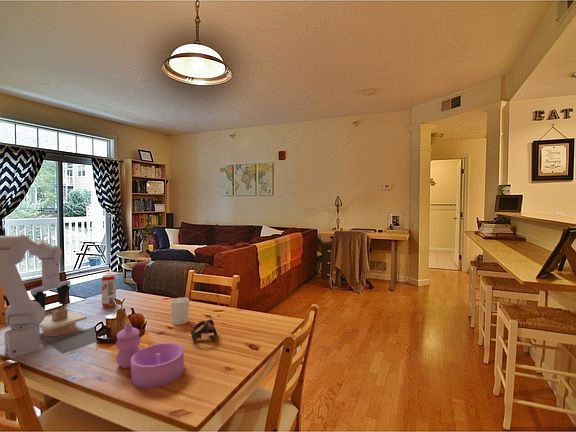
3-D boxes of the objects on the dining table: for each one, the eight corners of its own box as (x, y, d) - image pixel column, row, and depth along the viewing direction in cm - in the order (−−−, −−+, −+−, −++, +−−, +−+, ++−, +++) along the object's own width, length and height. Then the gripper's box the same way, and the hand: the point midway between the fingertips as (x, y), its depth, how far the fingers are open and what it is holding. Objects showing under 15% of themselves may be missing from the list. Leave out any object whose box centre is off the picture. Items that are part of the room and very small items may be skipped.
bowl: (48, 339, 120) (48, 328, 120) (39, 332, 126) (38, 322, 126) (80, 330, 129) (79, 319, 129) (69, 324, 135) (69, 314, 135)
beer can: (105, 309, 154) (104, 277, 154) (100, 306, 158) (99, 276, 157) (118, 305, 159) (117, 275, 159) (112, 303, 163) (112, 273, 162)
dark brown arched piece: (216, 346, 115) (205, 329, 113) (196, 355, 117) (184, 339, 115) (224, 325, 127) (213, 310, 125) (205, 334, 128) (194, 319, 126)
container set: (194, 367, 100) (193, 328, 99) (156, 394, 86) (154, 348, 85) (141, 351, 110) (140, 316, 110) (99, 373, 97) (98, 332, 96)
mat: (62, 354, 108) (62, 353, 108) (46, 342, 117) (46, 341, 117) (115, 336, 123) (115, 335, 123) (97, 327, 132) (97, 326, 132)
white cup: (185, 325, 133) (185, 303, 133) (168, 325, 134) (167, 303, 133) (191, 318, 141) (191, 297, 141) (175, 318, 141) (174, 297, 141)
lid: (47, 330, 118) (47, 319, 117) (32, 323, 125) (31, 312, 124) (86, 318, 130) (86, 308, 129) (70, 312, 137) (69, 303, 136)
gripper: (38, 279, 119) (39, 313, 119) (74, 271, 133) (76, 302, 133) (26, 278, 121) (27, 311, 122) (63, 270, 135) (64, 300, 135)
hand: (52, 306), depth 128 cm, fingers open, 7 cm apart
